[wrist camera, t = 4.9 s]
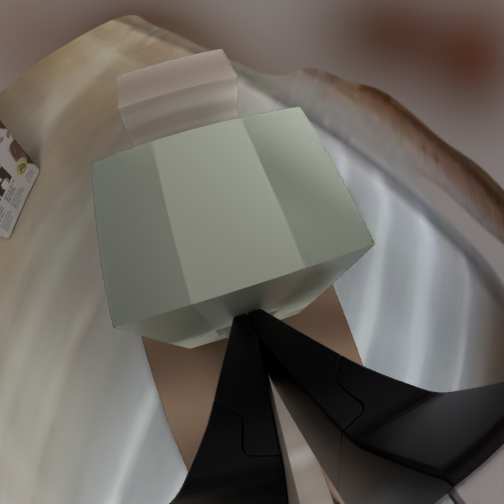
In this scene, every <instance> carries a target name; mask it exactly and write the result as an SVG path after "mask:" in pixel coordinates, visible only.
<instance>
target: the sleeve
mask: <svg viewBox="0 0 504 504" xmlns="http://www.w3.org/2000/svg"><path fill="white" fill-rule="evenodd" d="M92 180H93V195H94V208H95V218H96V228H97V236H98V244H99V252H100V259H101V265H102V272H103V278H104V284H105V289H106V294H107V300H108V305H109V310H110V314H111V319H112V324H113V327H114V328H117V329H120V330H124V331H127V332H130V333H134V334H137V335H141V336H144V337H148V338H151V339H155V340H158V341H162V342H166V343H170V344H173V345H177V346H181V347H185V348H189V349H191V348H194V347H198V346H201V345H204V344H208V343H211V342H214V341H218V340H221V339H224V338H227V335H226V332H225V329H224V328H225V327H228V326H231V325H232V321H233V318H234V317H236V316H239V315H242V314H247V315H248V313H249V312H251V311H254V310H257V309H262V310H264V311H266V312H267V313H269V314H271V315H273V316H274V317H276V318H278V319H279V320H282V319H285V318H287V317H290V316H293V315H296V314H299V313H300V312H301V311H302V310H304V309H305V308H306V307H307V306H308V305H309V304H310V303H312V302H313V301H314V300H315V299H316V298H317V297H318V296H319V295H321V294H322V293H323V292H324V291H325V290H326V289H327V288H328V287H330V286H331V285H332V284H333V283H334V282H335V281H336V280H337V279H338V278H339V277H340V276H342V275H343V274H344V273H345V272H346V271H347V270H348V269H349V268H350V267H351V266H352V265H353V264H354V263H355V262H357V261H358V260H359V259H360V258H361V257H362V256H363V255H364V254H365V253H366V252H367V251H368V250H369V249H370V248H371V247H372V246H373V245H374V244H375V243H374V241H373V239H372V237H371V234H370V232H369V230H368V228H367V226H366V224H365V222H364V220H363V218H362V216H361V214H360V212H359V210H358V208H357V206H356V204H355V202H354V200H353V198H352V196H351V194H350V192H349V190H348V188H347V187H346V185H345V183H344V181H343V179H342V177H341V175H340V173H339V172H338V170H337V168H336V166H335V164H334V163H333V161H332V159H331V157H330V156H329V154H328V152H327V150H326V149H325V147H324V145H323V143H322V142H321V140H320V138H319V137H318V135H317V133H316V132H315V130H314V128H313V127H312V125H311V123H310V122H309V120H308V119H307V117H306V115H305V114H304V112H303V111H302V109H301V108H300V107H294V108H288V109H282V110H276V111H271V112H266V113H260V114H255V115H251V116H246V117H241V118H237V119H232V120H228V121H223V122H219V123H215V124H211V125H207V126H203V127H199V128H196V129H192V130H188V131H185V132H181V133H178V134H174V135H171V136H167V137H164V138H161V139H158V140H154V141H151V142H148V143H145V144H142V145H139V146H136V147H133V148H130V149H127V150H124V151H121V152H119V153H116V154H113V155H110V156H108V157H105V158H102V159H100V160H97V161H95V162H92Z"/></svg>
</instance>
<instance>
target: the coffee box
mask: <svg viewBox="0 0 504 504" xmlns="http://www.w3.org/2000/svg"><path fill="white" fill-rule="evenodd" d="M38 174H39V169H38V167H37V166H36V165H35V164H34V163H33V161H32V160H31V159H30V158H29V156H28V155H27V154H26V153H25V152H24V150H23V149H22V148H21V147H20V145H19V144H18V143H17V142H16V140H15V139H14V138H13V136H12V135H11V134H10V133H9V131H8V130H7V129H6V127H5V126H4V125H3V124H2V122H1V121H0V236H1V237H4V238H10V236H11V234H12V231H13V229H14V226H15V224H16V221H17V219H18V216H19V214H20V212H21V210H22V207H23V205H24V203H25V201H26V198H27V196H28V194H29V192H30V190H31V188H32V186H33V184H34V182H35V180H36V178H37V176H38Z"/></svg>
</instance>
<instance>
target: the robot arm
mask: <svg viewBox="0 0 504 504" xmlns="http://www.w3.org/2000/svg"><path fill="white" fill-rule="evenodd" d="M269 377H270V379H269ZM270 380H271V382H272V384H273V386H274V387H275V389H276V391H277V393H278V394H279V396H280V398H281V400H282V401H283V403H284V405H285V407H286V408H287V410H288V412H289V413H290V415H291V417H292V419H293V420H294V422H295V424H296V425H297V427H298V429H299V430H300V432H301V434H302V435H303V437H304V439H305V440H306V442H307V444H308V445H309V447H310V449H311V450H312V452H313V454H314V455H315V457H316V459H317V460H318V462H319V463H320V465H321V467H322V468H323V470H324V472H325V473H326V475H327V476H328V478H329V479H330V481H331V483H332V484H333V486H334V487H335V489H336V491H337V492H338V494H339V495H340V497H341V498H342V500H343V501H344V503H345V504H504V382H500V383H496V384H491V385H487V386H482V387H477V388H471V389H466V390H460V391H454V392H433V391H428V390H424V389H421V388H418V387H415V386H413V385H410V384H407V383H404V382H402V381H399V380H396V379H393V378H391V377H388V376H385V375H383V374H380V373H378V372H376V371H373V370H371V369H368V368H366V367H364V366H362V365H360V364H358V363H356V362H354V361H352V360H350V359H348V358H347V357H345V356H343V355H340V354H339V353H337V352H336V351H334V350H332V349H330V348H328V347H327V346H325V345H323V344H321V343H319V342H318V341H316V340H314V339H312V338H311V337H309V336H307V335H305V334H304V333H302V332H300V331H298V330H297V329H295V328H293V327H291V326H290V325H288V324H286V323H285V322H283V321H281V320H279V319H278V318H276V317H274V316H273V315H271V314H269V313H267V312H266V311H264V310H262V309H257V310H254V311H251V312H249V313H248V315H247V314H242V315H239V316H236V317H234V318H233V321H232V325H231V329H230V333H229V337H228V341H227V346H226V350H225V354H224V358H223V362H222V367H221V371H220V375H219V379H218V383H217V387H216V392H215V396H214V401H213V404H212V408H211V412H210V416H209V419H208V423H207V426H206V429H205V432H204V435H203V437H202V440H201V443H200V445H199V448H198V450H197V452H196V455H195V457H194V460H193V462H192V465H191V467H190V469H189V472H188V474H187V476H186V479H185V481H184V483H183V486H182V488H181V489H180V491H179V493H178V494H177V495H176V497H175V498H174V499H173V500H172V501H171V502H170V503H169V504H300V501H299V497H298V493H297V489H296V485H295V481H294V477H293V473H292V469H291V465H290V461H289V457H288V452H287V448H286V444H285V440H284V436H283V432H282V428H281V423H280V419H279V415H278V411H277V407H276V403H275V398H274V394H273V390H272V386H271V382H270Z"/></svg>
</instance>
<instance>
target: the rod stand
mask: <svg viewBox="0 0 504 504" xmlns="http://www.w3.org/2000/svg"><path fill="white" fill-rule="evenodd" d="M116 83H117V103H118V111H119V113H120V115H121V118H122V120H123V123H124V125H125V127H126V130H127V132H128V134H129V137H130V139H131V141H132V144H133V146H134V147H136V146H139V145H142V144H145V143H148V142H151V141H154V140H158V139H161V138H164V137H167V136H171V135H174V134H178V133H181V132H185V131H188V130H192V129H196V128H199V127H203V126H207V125H211V124H215V123H219V122H223V121H228V120H232V119H237V118H238V77H237V75H236V73H235V71H234V69H233V68H232V66H231V64H230V62H229V60H228V59H227V57H226V55H225V54H224V52H223V50H222V49H220V50H214V51H208V52H204V53H199V54H194V55H190V56H185V57H181V58H177V59H173V60H169V61H165V62H162V63H158V64H155V65H151V66H148V67H144V68H141V69H138V70H135V71H132V72H129V73H126V74H123V75H120V76H117V77H116ZM281 321H283V322H285V323H286V324H288V325H290V326H291V327H293V328H295V329H297V330H298V331H300V332H302V333H304V334H305V335H307V336H309V337H311V338H312V339H314V340H316V341H318V342H319V343H321V344H323V345H325V346H327V347H328V348H330V349H332V350H334V351H336V352H337V353H339V354H340V355H343V356H345V357H347V358H348V359H350V360H352V361H354V362H356V363H358V364H360V365H362V366H363V364H362V361H361V358H360V356H359V353H358V350H357V347H356V345H355V342H354V339H353V336H352V334H351V331H350V328H349V326H348V323H347V320H346V318H345V315H344V313H343V310H342V307H341V305H340V302H339V300H338V297H337V295H336V292H335V290H334V287H333V285H331V286H330V287H328V288H327V289H326V290H325V291H324V292H323V293H322V294H321V295H319V296H318V297H317V298H316V299H315V300H314V301H313V302H312V303H310V304H309V305H308V306H307V307H306V308H305V309H304V310H302V311H301V312H300V313H299V314H296V315H293V316H290V317H287V318H285V319H282V320H281ZM224 329H225V332H226V335H227V338H224V339H221V340H218V341H214V342H211V343H208V344H204V345H201V346H198V347H194V348H191V349H189V348H185V347H181V346H177V345H173V344H170V343H166V342H162V341H158V340H155V339H151V338H148V337H144V336H142V340H143V343H144V347H145V351H146V354H147V358H148V361H149V364H150V368H151V371H152V374H153V378H154V381H155V384H156V387H157V390H158V393H159V396H160V399H161V402H162V405H163V408H164V411H165V414H166V417H167V419H168V422H169V425H170V428H171V430H172V433H173V435H174V438H175V441H176V443H177V446H178V448H179V451H180V453H181V456H182V458H183V460H184V463H185V465H186V468H187V470H188V472H189V469H190V467H191V465H192V462H193V460H194V457H195V455H196V452H197V450H198V448H199V445H200V443H201V440H202V437H203V435H204V432H205V429H206V426H207V423H208V419H209V416H210V412H211V408H212V404H213V401H214V396H215V392H216V387H217V383H218V379H219V375H220V371H221V367H222V362H223V358H224V354H225V350H226V346H227V341H228V337H229V333H230V329H231V326H228V327H225V328H224ZM269 379H270V377H269ZM270 382H271V380H270ZM271 386H272V390H273V394H274V398H275V403H276V407H277V411H278V415H279V419H280V423H281V428H282V432H283V436H284V440H285V444H286V448H287V452H288V457H289V461H290V465H291V469H292V473H293V477H294V481H295V485H296V489H297V493H298V497H299V501H300V504H345V503H344V501H343V500H342V498H341V497H340V495H339V494H338V492H337V491H336V489H335V487H334V486H333V484H332V483H331V481H330V479H329V478H328V476H327V475H326V473H325V472H324V470H323V468H322V467H321V465H320V463H319V462H318V460H317V459H316V457H315V455H314V454H313V452H312V450H311V449H310V447H309V445H308V444H307V442H306V440H305V439H304V437H303V435H302V434H301V432H300V430H299V429H298V427H297V425H296V424H295V422H294V420H293V419H292V417H291V415H290V413H289V412H288V410H287V408H286V407H285V405H284V403H283V401H282V400H281V398H280V396H279V394H278V393H277V391H276V389H275V387H274V386H273V384H272V382H271Z"/></svg>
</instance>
